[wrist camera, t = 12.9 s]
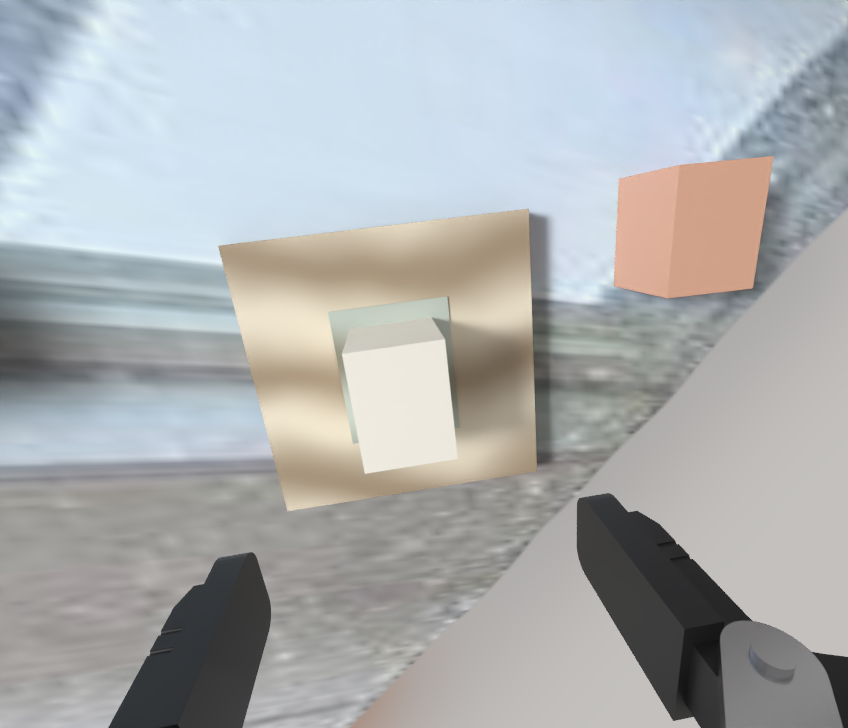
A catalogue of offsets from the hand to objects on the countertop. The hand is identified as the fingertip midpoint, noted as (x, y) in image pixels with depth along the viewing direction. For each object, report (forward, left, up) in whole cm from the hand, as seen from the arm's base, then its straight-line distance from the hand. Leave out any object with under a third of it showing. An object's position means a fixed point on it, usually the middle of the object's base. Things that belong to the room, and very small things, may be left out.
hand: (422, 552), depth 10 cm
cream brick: (0, 0, -14) cm, 14 cm away
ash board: (0, 0, -16) cm, 16 cm away
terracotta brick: (-6, +16, -16) cm, 23 cm away
